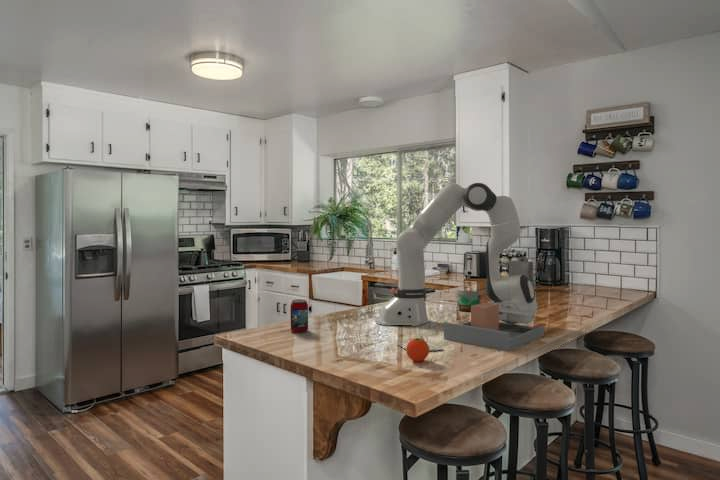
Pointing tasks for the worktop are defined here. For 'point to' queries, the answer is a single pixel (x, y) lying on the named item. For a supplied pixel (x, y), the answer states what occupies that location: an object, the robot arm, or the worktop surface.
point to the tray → (492, 335)
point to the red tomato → (417, 349)
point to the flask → (521, 268)
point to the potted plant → (468, 299)
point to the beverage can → (299, 316)
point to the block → (485, 316)
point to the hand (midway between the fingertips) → (495, 317)
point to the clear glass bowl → (427, 342)
